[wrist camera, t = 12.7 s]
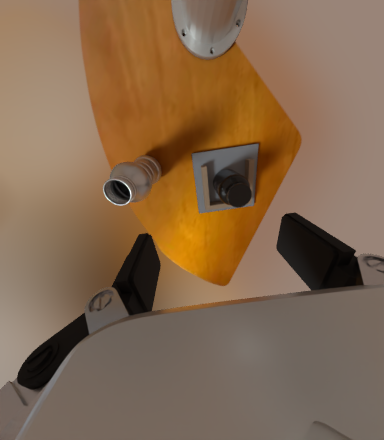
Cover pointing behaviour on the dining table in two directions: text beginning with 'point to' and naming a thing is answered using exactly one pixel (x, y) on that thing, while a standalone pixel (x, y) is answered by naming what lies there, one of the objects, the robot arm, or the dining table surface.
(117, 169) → the plastic bottle
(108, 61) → the dining table surface
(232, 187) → the supplement bottle
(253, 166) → the bottle stand
